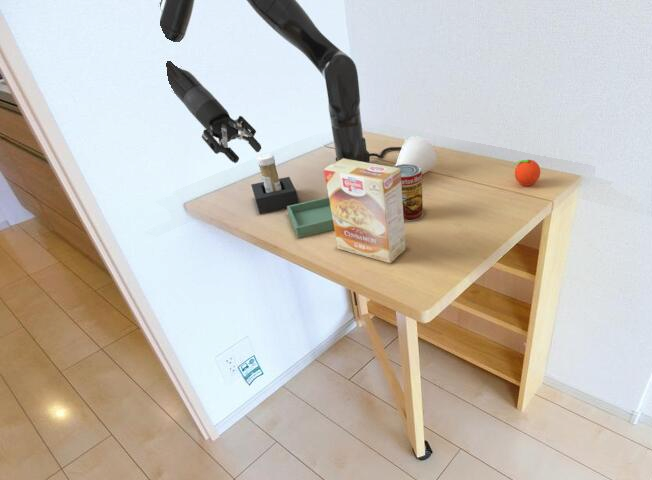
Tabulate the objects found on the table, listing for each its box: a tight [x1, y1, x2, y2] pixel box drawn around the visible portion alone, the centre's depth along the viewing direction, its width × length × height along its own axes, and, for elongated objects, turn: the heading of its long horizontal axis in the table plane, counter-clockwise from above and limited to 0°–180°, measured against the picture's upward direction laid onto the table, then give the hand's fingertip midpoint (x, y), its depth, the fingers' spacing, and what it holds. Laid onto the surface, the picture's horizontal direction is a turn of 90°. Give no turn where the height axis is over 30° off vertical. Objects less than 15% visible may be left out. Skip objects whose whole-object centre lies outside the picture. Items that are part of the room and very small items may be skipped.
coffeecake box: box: [323, 158, 407, 264], centre depth 96 cm, size 15×7×20 cm, turn 58°
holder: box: [251, 176, 300, 215], centre depth 124 cm, size 11×11×4 cm
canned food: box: [393, 164, 424, 222], centre depth 111 cm, size 8×8×12 cm
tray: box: [286, 196, 335, 239], centre depth 114 cm, size 16×14×3 cm
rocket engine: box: [394, 135, 438, 175], centre depth 128 cm, size 12×12×18 cm
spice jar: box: [256, 153, 282, 193], centre depth 121 cm, size 5×5×13 cm
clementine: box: [514, 159, 541, 187], centre depth 122 cm, size 8×7×7 cm
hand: (248, 155), depth 120 cm, fingers open, 8 cm apart
